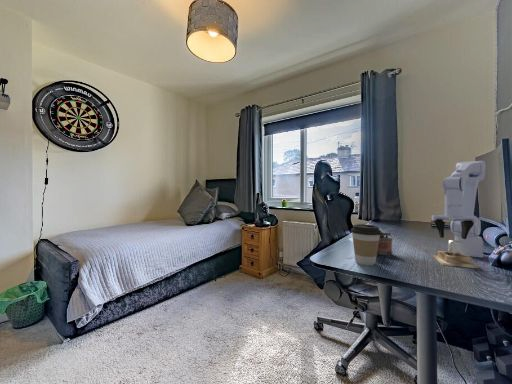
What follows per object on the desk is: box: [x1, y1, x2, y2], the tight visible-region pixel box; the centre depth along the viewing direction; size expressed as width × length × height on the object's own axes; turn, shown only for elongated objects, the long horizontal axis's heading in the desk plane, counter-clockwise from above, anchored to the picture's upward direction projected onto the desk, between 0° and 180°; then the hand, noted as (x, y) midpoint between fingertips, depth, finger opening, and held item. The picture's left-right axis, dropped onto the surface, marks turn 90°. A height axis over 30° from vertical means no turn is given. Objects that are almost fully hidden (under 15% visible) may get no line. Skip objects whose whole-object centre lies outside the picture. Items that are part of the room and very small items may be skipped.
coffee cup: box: [350, 223, 382, 267], centre depth 97 cm, size 11×11×15 cm
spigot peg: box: [447, 239, 461, 256], centre depth 99 cm, size 4×4×8 cm
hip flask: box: [377, 231, 393, 256], centre depth 111 cm, size 8×3×10 cm, turn 69°
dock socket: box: [431, 250, 481, 269], centre depth 99 cm, size 12×12×3 cm
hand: (452, 238), depth 99 cm, fingers open, 7 cm apart
